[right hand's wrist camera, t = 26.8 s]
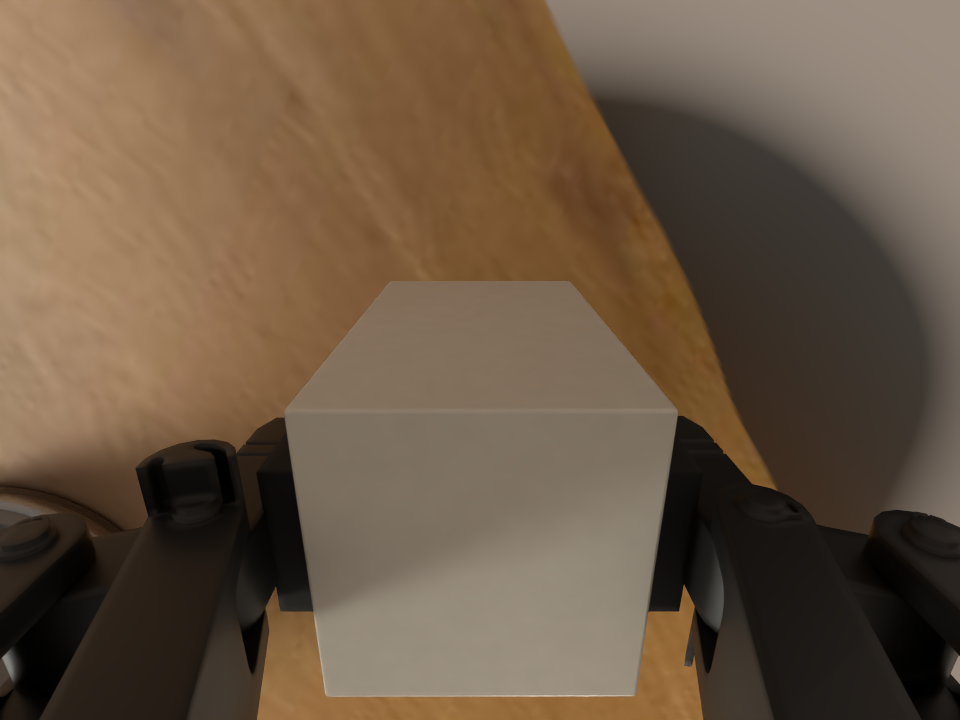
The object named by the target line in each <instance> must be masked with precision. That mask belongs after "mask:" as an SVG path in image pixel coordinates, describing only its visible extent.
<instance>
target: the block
mask: <svg viewBox="0 0 960 720" xmlns="http://www.w3.org/2000/svg"><path fill="white" fill-rule="evenodd" d="M284 417H285V424H286V431H287V437H288V444H289V451H290V458H291V464H292V471H293V478H294V485H295V491H296V498H297V505H298V512H299V518H300V525H301V532H302V538H303V545H304V552H305V559H306V565H307V572H308V579H309V586H310V592H311V599H312V606H313V613H314V619H315V626H316V633H317V640H318V646H319V653H320V660H321V667H322V673H323V680H324V687H325V694H326V696H329V697H352V696H634V695H636V691H637V684H638V678H639V671H640V664H641V657H642V651H643V644H644V637H645V631H646V624H647V617H648V611H649V604H650V597H651V591H652V584H653V577H654V571H655V564H656V557H657V550H658V544H659V537H660V530H661V524H662V517H663V510H664V504H665V497H666V490H667V484H668V477H669V470H670V463H671V457H672V450H673V443H674V437H675V430H676V423H677V417H678V411H677V409H676V407H675V406H674V405H673V404H672V403H671V401H670V400H669V399H668V398H667V397H666V395H665V394H664V393H663V392H662V391H661V389H660V388H659V387H658V386H657V385H656V383H655V382H654V381H653V380H652V379H651V377H650V376H649V375H648V374H647V373H646V371H645V370H644V369H643V368H642V367H641V365H640V364H639V363H638V362H637V361H636V360H635V358H634V357H633V356H632V355H631V354H630V352H629V351H628V350H627V349H626V348H625V346H624V345H623V344H622V343H621V342H620V340H619V339H618V338H617V337H616V336H615V334H614V333H613V332H612V331H611V330H610V328H609V327H608V326H607V325H606V324H605V322H604V321H603V320H602V319H601V318H600V316H599V315H598V314H597V313H596V312H595V310H594V309H593V308H592V307H591V306H590V305H589V303H588V302H587V301H586V300H585V299H584V297H583V296H582V295H581V294H580V293H579V291H578V290H577V289H576V288H575V287H574V285H573V284H572V283H571V282H570V281H390V282H389V283H388V284H387V285H386V287H385V288H384V289H383V290H382V292H381V293H380V294H379V295H378V296H377V298H376V299H375V300H374V301H373V303H372V304H371V305H370V306H369V307H368V309H367V310H366V311H365V312H364V314H363V315H362V316H361V317H360V318H359V320H358V321H357V322H356V323H355V325H354V326H353V327H352V328H351V329H350V331H349V332H348V333H347V334H346V336H345V337H344V338H343V339H342V340H341V342H340V343H339V344H338V345H337V347H336V348H335V349H334V350H333V351H332V353H331V354H330V355H329V356H328V358H327V359H326V360H325V361H324V362H323V364H322V365H321V366H320V367H319V369H318V370H317V371H316V372H315V373H314V375H313V376H312V377H311V378H310V379H309V381H308V382H307V383H306V384H305V386H304V387H303V388H302V389H301V390H300V392H299V393H298V394H297V395H296V397H295V398H294V399H293V400H292V401H291V403H290V404H289V405H288V406H287V408H286V409H285V411H284Z"/></svg>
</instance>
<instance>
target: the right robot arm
mask: <svg viewBox="0 0 960 720" xmlns="http://www.w3.org/2000/svg"><path fill="white" fill-rule="evenodd" d="M136 472H137V476H138V480H139V483H140V487H141V491H142V494H143V498H144V502H145V505H146V509H147V513H148V518H147V520H146V522H145V524H144V526H143V527H141V528H137V529H132V530H127V531H120V530H119V529H118V528H116V527H115V526H114V525H112V524H111V523H110V522H108V521H107V520H105V519H103V518H102V517H100V516H99V515H97V514H95V513H94V512H92V511H90V510H88V509H86V508H84V507H82V506H80V505H78V504H75V503H73V502H71V501H68V500H66V499H63V498H60V497H57V496H54V495H51V494H47V493H44V492H39V491H35V490H30V489H23V488H16V487H0V720H257V714H258V707H259V700H260V692H261V685H262V678H263V671H264V664H265V657H266V649H267V642H268V635H269V626H268V619H267V614H266V608H265V607H266V605H267V603H268V601H269V599H270V597H271V595H272V593H273V591H274V589H275V587H276V588H277V593H278V599H279V605H280V610H281V611H313V606H312V599H311V592H310V586H309V579H308V572H307V565H306V559H305V552H304V545H303V538H302V532H301V525H300V518H299V512H298V505H297V498H296V491H295V485H294V478H293V471H292V464H291V458H290V451H289V444H288V437H287V431H286V424H285V418H275V419H274V420H272V421H270V422H269V423H267V424H265V425H263V426H262V427H260V428H258V429H257V430H256V431H255V432H254V434H253V435H252V436H251V437H250V438H249V439H248V441H247V442H246V445H243V446H242V447H241V449H240V450H239V451H238V452H237V455H236V450H235V447H233V446H232V445H231V444H229V443H228V442H224V441H219V440H196V441H191V442H186V443H181V444H177V445H174V446H171V447H168V448H166V449H163V450H160V451H158V452H157V453H155V454H153V455H151V456H149V457H148V458H146V459H145V460H143V461H142V462H141V463H140V464H139V465H138V466H137V467H136ZM684 585H685V587H686V589H687V591H688V593H689V595H690V597H691V599H692V601H693V603H694V605H695V608H694V614H693V619H692V624H691V629H690V635H689V640H688V645H687V651H686V657H685V664H684V665H685V666H689V667H692V662H693V657H694V655H695V663H696V670H697V677H698V684H699V691H700V698H701V705H702V713H703V720H960V684H959V683H958V682H957V681H956V680H955V678H954V677H953V676H952V675H951V674H950V673H951V671H952V669H953V666H954V664H955V662H956V660H957V658H958V655H959V656H960V527H957V526H955V525H953V524H951V523H948V522H946V521H945V520H943V519H941V518H938V517H935V516H932V515H930V516H928V515H927V514H924V513H920V512H910V511H902V510H893V511H884V512H881V513H880V514H879V515H877V516H876V517H875V518H874V520H873V524H872V527H871V530H870V533H869V535H866V534H861V533H855V532H850V531H845V530H840V529H835V528H830V527H825V526H821V525H817V524H816V523H815V521H814V519H813V517H812V516H811V514H810V513H809V512H808V511H807V510H806V509H805V507H804V506H803V505H802V504H800V503H799V502H797V501H796V500H794V499H793V498H791V497H789V496H788V495H785V494H783V493H781V492H778V491H776V490H773V489H771V488H767V487H762V486H758V485H754V484H752V483H751V482H750V481H749V480H748V479H747V478H746V477H745V475H744V474H743V473H742V472H741V471H740V470H739V469H738V467H737V466H736V465H735V464H734V463H733V462H732V461H731V459H730V458H729V457H728V456H727V455H726V454H723V450H722V449H721V448H720V447H719V446H718V445H717V443H714V440H713V439H712V438H711V437H710V435H709V434H708V433H707V432H706V431H705V430H704V428H703V427H701V426H699V425H698V424H696V423H694V422H693V421H691V420H689V419H687V418H686V417H684V416H678V417H677V423H676V430H675V437H674V443H673V450H672V457H671V463H670V470H669V477H668V484H667V490H666V497H665V504H664V510H663V517H662V524H661V530H660V537H659V544H658V550H657V557H656V564H655V571H654V577H653V584H652V591H651V597H650V604H649V611H679V608H680V603H681V597H682V591H683V586H684Z"/></svg>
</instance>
